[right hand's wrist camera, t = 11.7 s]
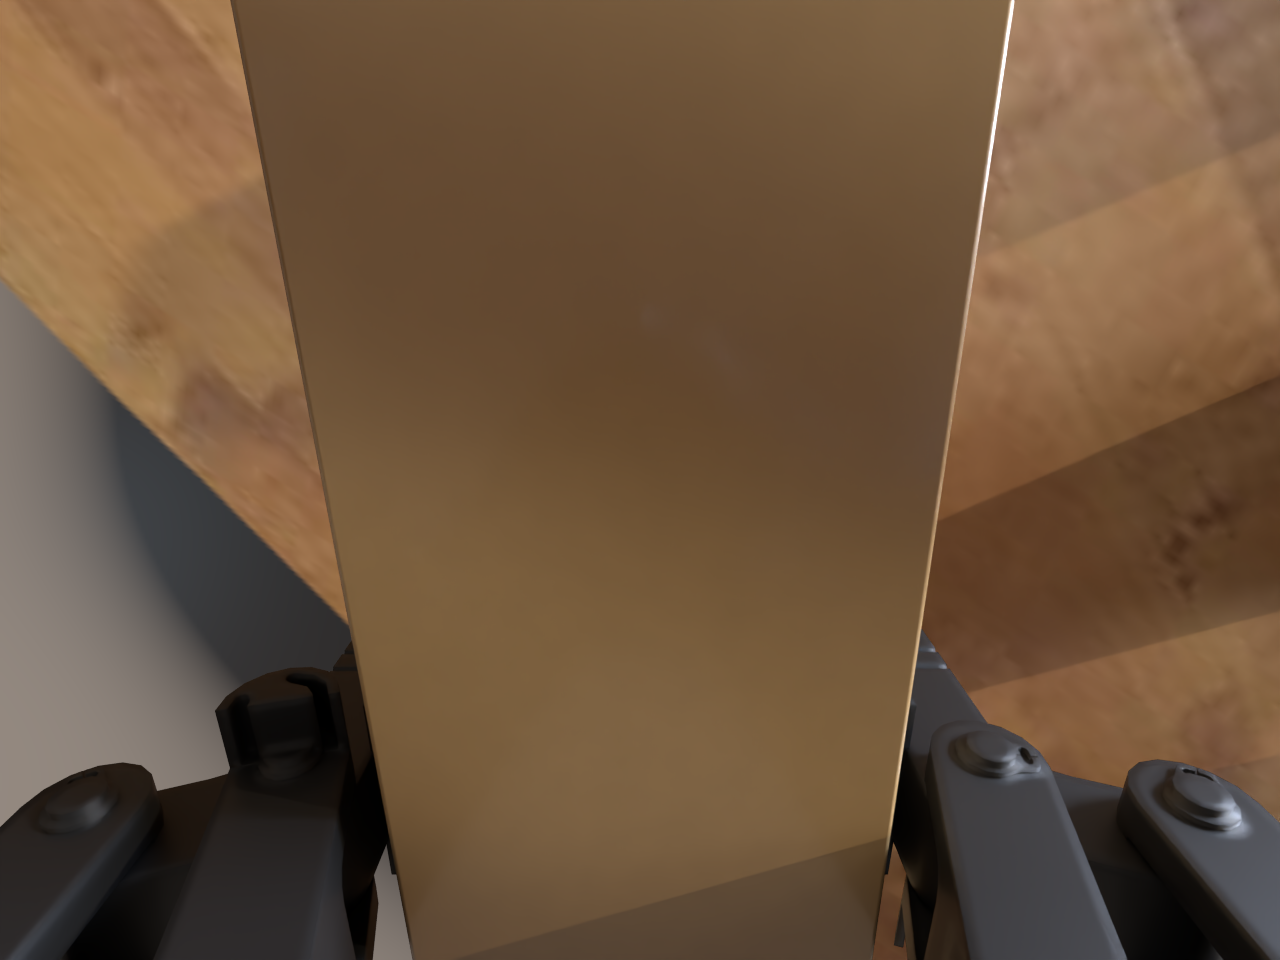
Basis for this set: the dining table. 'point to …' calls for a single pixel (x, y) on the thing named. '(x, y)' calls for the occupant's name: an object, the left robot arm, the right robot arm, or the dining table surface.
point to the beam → (631, 438)
